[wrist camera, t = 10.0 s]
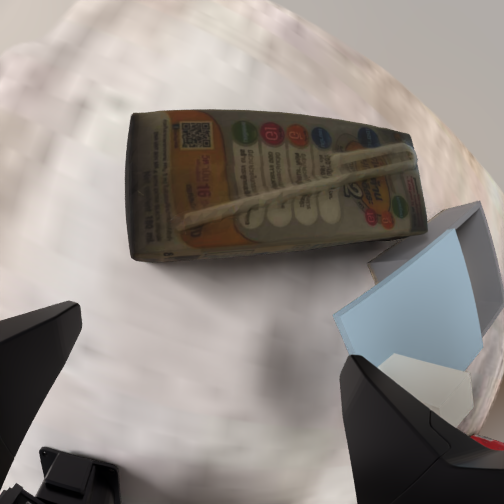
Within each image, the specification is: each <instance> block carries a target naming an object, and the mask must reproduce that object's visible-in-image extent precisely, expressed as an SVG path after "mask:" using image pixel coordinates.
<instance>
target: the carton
mask: <svg viewBox="0 0 504 504" xmlns="http://www.w3.org/2000/svg"><path fill="white" fill-rule="evenodd" d="M427 224H428V232H427V233H425V234H422V235H415V236H410V237H407V238H404V239H402V240H401V241H399V242H398V243H396V244H395V245H394V246H392V247H391V248H389V249H388V250H386V251H385V252H383V253H382V254H380V255H379V256H377V257H376V258H374V259H373V260H371V261H370V262H368V263H367V264H368V267H369V269H370V272H371V274H372V277H373V279H374V282H375V284H376V285H377V284H378V283H380V282H381V281H382V280H384V279H385V278H386V277H388V276H389V275H391V274H392V273H393V272H395V271H396V270H397V269H399V268H400V267H401V266H402V265H404V264H405V263H406V262H408V261H409V260H410V259H412V258H413V257H414V256H415V255H417V254H418V253H419V252H420V251H422V250H423V249H424V248H426V247H427V246H428V245H429V244H430V243H432V242H433V241H434V240H435V239H437V238H438V237H439V236H440V235H441V234H443V233H444V232H445V231H446V230H449V229H454V228H455V231H456V234H457V237H458V240H459V243H460V246H461V250H462V253H463V256H464V260H465V263H466V267H467V271H468V274H469V278H470V282H471V286H472V290H473V295H474V299H475V304H476V308H477V313H478V319H479V324H480V330H481V336H482V337H483V336H484V335H485V333H486V332H487V331H488V329H489V328H490V326H491V325H492V324H493V322H494V321H495V319H496V318H497V316H498V315H499V313H500V312H501V310H502V309H503V307H504V289H503V284H502V279H501V274H500V269H499V265H498V261H497V256H496V252H495V248H494V245H493V241H492V237H491V234H490V230H489V227H488V224H487V220H486V217H485V214H484V211H483V208H482V205H481V202H480V201H476V202H472V203H469V204H465V205H461V206H457V207H453V208H449V209H445V210H442V211H441V212H440V213H438V214H437V215H436V216H434V217H433V218H432V219H430V220H429V221H427Z"/></svg>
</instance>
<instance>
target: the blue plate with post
mask: <svg viewBox="0 0 504 504" xmlns="http://www.w3.org/2000/svg"><path fill="white" fill-rule="evenodd" d="M333 317H334V320H335V322H336V324H337V327H338V329H339V331H340V334H341V336H342V338H343V341H344V343H345V345H346V348H347V350H348V353H349V355H351V354H354V355H362V356H363V357H364V358H366V359H367V360H368V361H369V362H371V363H372V364H373V365H375V366H376V367H377V368H378V369H380V370H381V371H382V372H383V373H385V374H386V375H387V376H388V377H390V378H391V379H392V380H394V381H395V382H396V383H397V384H399V385H400V386H401V387H403V388H404V389H405V390H406V391H408V392H409V393H410V394H411V395H413V396H414V397H415V398H417V399H418V400H419V401H420V402H422V403H423V404H424V405H426V406H427V407H428V408H429V409H430V410H432V411H433V412H435V413H436V414H437V415H439V416H440V417H441V418H443V419H444V420H445V421H447V422H448V423H449V424H451V425H452V426H454V427H455V428H456V427H457V426H458V425H459V424H460V423H461V422H462V420H463V419H464V418H465V417H466V416H467V414H468V413H469V412H470V411H471V410H472V408H473V407H474V405H473V394H472V385H471V377H470V373H469V372H465V370H466V368H467V367H468V366H469V365H470V363H471V362H472V361H473V360H474V358H475V357H476V356H477V355H478V353H479V352H480V351H481V349H482V348H483V342H482V336H481V330H480V324H479V319H478V313H477V308H476V304H475V299H474V295H473V290H472V286H471V282H470V278H469V274H468V271H467V267H466V263H465V260H464V256H463V253H462V250H461V246H460V243H459V240H458V237H457V234H456V231H455V228H454V229H449V230H446V231H445V232H444V233H443V234H441V235H440V236H439V237H438V238H437V239H435V240H434V241H433V242H432V243H430V244H429V245H428V246H427V247H426V248H424V249H423V250H422V251H420V252H419V253H418V254H417V255H415V256H414V257H413V258H412V259H410V260H409V261H408V262H406V263H405V264H404V265H402V266H401V267H400V268H399V269H397V270H396V271H395V272H393V273H392V274H391V275H389V276H388V277H386V278H385V279H384V280H382V281H381V282H380V283H378V284H377V285H375V286H374V287H373V288H371V289H370V290H368V291H367V292H366V293H364V294H363V295H361V296H360V297H359V298H357V299H356V300H354V301H353V302H351V303H350V304H348V305H347V306H345V307H344V308H342V309H341V310H339V311H338V312H336V313H335V314H333Z"/></svg>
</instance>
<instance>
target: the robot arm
mask: <svg viewBox="0 0 504 504" xmlns="http://www.w3.org/2000/svg"><path fill="white" fill-rule="evenodd" d="M81 329H82V318H81V308H80V305H79V304H78V303H76V302H72V301H65V302H62V303H59V304H55V305H52V306H48V307H45V308H42V309H38V310H35V311H32V312H28V313H25V314H22V315H18V316H15V317H11V318H8V319H5V320H1V321H0V490H1V488H2V485H3V483H4V481H5V478H6V476H7V474H8V471H9V469H10V467H11V465H12V462H13V460H14V457H15V456H16V454H17V451H18V449H19V447H20V445H21V443H22V441H23V439H24V437H25V435H26V433H27V431H28V429H29V427H30V425H31V423H32V421H33V420H34V418H35V416H36V414H37V412H38V410H39V408H40V407H41V405H42V403H43V401H44V399H45V398H46V396H47V394H48V392H49V390H50V389H51V387H52V385H53V384H54V382H55V380H56V378H57V377H58V375H59V373H60V372H61V370H62V368H63V367H64V365H65V363H66V361H67V359H68V357H69V355H70V353H71V350H72V348H73V346H74V344H75V342H76V340H77V338H78V336H79V334H80V332H81ZM340 389H341V402H342V415H343V422H344V427H345V432H346V438H347V443H348V449H349V454H350V460H351V466H352V472H353V478H354V484H355V491H356V497H357V504H504V450H502V451H500V450H493V449H490V448H487V447H485V446H484V445H482V444H480V443H479V442H477V441H476V440H474V439H472V438H471V437H469V436H468V435H466V434H465V433H463V432H461V431H460V430H458V429H457V428H455V427H454V426H452V425H451V424H449V423H448V422H447V421H445V420H444V419H443V418H441V417H440V416H439V415H437V414H436V413H435V412H433V411H432V410H430V409H429V408H428V407H427V406H426V405H424V404H423V403H422V402H420V401H419V400H418V399H417V398H415V397H414V396H413V395H411V394H410V393H409V392H408V391H406V390H405V389H404V388H403V387H401V386H400V385H399V384H397V383H396V382H395V381H394V380H392V379H391V378H390V377H388V376H387V375H386V374H385V373H383V372H382V371H381V370H380V369H378V368H377V367H376V366H375V365H373V364H372V363H371V362H369V361H368V360H367V359H366V358H364V357H363V356H362V355H354V354H351V355H349V356H348V358H347V360H346V362H345V364H344V367H343V369H342V371H341V374H340ZM44 452H45V453H47V454H45V453H44ZM39 454H40V459H41V464H42V469H43V474H44V480H43V482H42V484H41V486H40V488H39V490H38V492H37V494H36V496H35V497H34V496H33V495H31V494H30V493H28V492H27V491H25V490H24V489H23V487H21V486H20V485H19V484H17V483H16V484H15V485H14V487H13V488H9V489H8V490H7V491H6V490H3V492H2V493H1V495H0V504H121V496H120V484H119V471H118V468H117V467H116V466H115V465H113V464H108V463H103V462H99V461H94V460H90V459H86V458H82V457H78V456H74V455H71V454H67V453H64V452H59V451H56V450H53V449H50V448H47V447H42V448H41V449H40V450H39ZM109 469H112V470H114V471H110V470H109Z"/></svg>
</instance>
